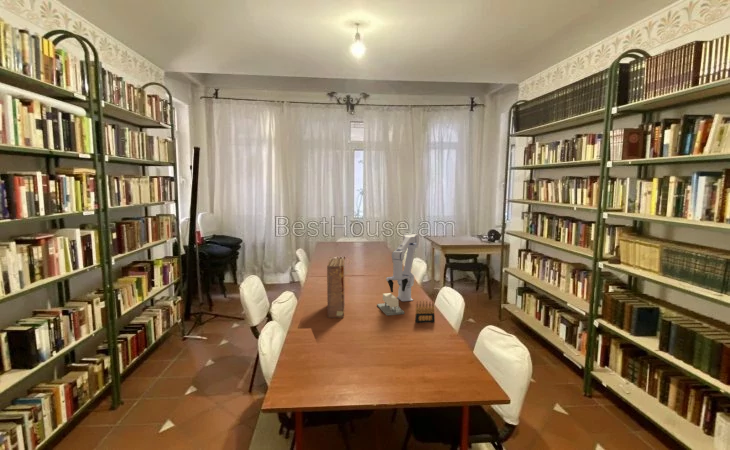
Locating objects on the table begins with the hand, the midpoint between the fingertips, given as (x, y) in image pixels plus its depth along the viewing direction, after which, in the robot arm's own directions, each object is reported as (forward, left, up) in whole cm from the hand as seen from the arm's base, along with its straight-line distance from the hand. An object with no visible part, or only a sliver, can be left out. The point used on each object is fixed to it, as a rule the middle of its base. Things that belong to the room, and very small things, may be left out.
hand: (397, 291), depth 236 cm
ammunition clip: (+29, +5, -10) cm, 31 cm away
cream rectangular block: (+5, -7, -5) cm, 10 cm away
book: (-3, -38, -10) cm, 39 cm away
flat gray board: (+5, -7, -9) cm, 12 cm away
